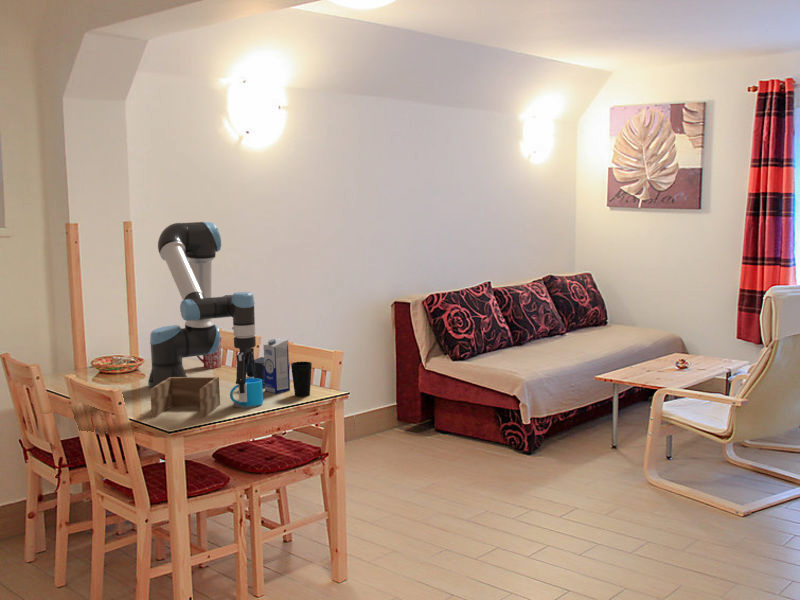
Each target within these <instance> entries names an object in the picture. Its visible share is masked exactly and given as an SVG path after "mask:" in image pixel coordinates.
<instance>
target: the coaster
mask: <svg viewBox="0 0 800 600" xmlns="http://www.w3.org/2000/svg"><path fill="white" fill-rule="evenodd" d="M261 405H262V404H260V405H256V406H243V405H240V404H238V403H235V402H233V403H232V406H233V407H234V408H237V409H252V408H257V407H259V406H261Z"/></svg>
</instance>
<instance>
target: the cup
mask: <svg viewBox="0 0 800 600" xmlns="http://www.w3.org/2000/svg"><path fill="white" fill-rule="evenodd" d="M312 365H313V363H312V362H311V361H296V362H295V361H294V362H292V363H290V366H291V367H290V368H291V369H290V370H291V376H292V377H291V378H292V383H293V384H292V385H293V391H294V392H293V393H294V396H295V398H296V397H298V398H305V397H310V395H311V386H312V385H311V383H312V367H313V366H312Z"/></svg>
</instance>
